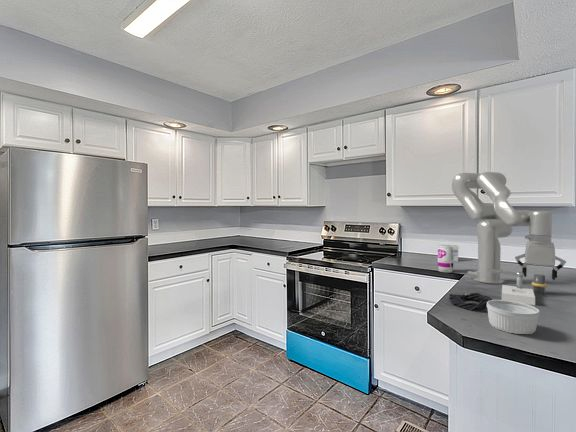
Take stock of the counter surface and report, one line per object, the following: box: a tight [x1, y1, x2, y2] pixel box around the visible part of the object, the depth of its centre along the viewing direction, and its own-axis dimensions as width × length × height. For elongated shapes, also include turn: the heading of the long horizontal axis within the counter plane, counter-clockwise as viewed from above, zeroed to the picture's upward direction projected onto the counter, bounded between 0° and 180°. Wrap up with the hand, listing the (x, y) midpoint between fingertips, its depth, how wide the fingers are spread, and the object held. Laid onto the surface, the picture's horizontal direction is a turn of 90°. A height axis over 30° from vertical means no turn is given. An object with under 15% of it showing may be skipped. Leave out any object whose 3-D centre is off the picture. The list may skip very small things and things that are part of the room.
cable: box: [448, 292, 493, 312], centre depth 117 cm, size 17×14×4 cm
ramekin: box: [487, 299, 541, 335], centre depth 94 cm, size 13×13×7 cm
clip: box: [488, 268, 524, 277], centre depth 134 cm, size 3×12×2 cm, turn 46°
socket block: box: [501, 275, 536, 306], centre depth 126 cm, size 10×16×8 cm, turn 144°
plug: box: [531, 273, 548, 296], centre depth 134 cm, size 5×5×8 cm
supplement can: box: [437, 244, 454, 274], centre depth 180 cm, size 8×8×15 cm
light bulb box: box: [446, 244, 459, 262], centre depth 218 cm, size 11×7×11 cm, turn 67°
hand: (539, 277), depth 134 cm, fingers open, 9 cm apart
